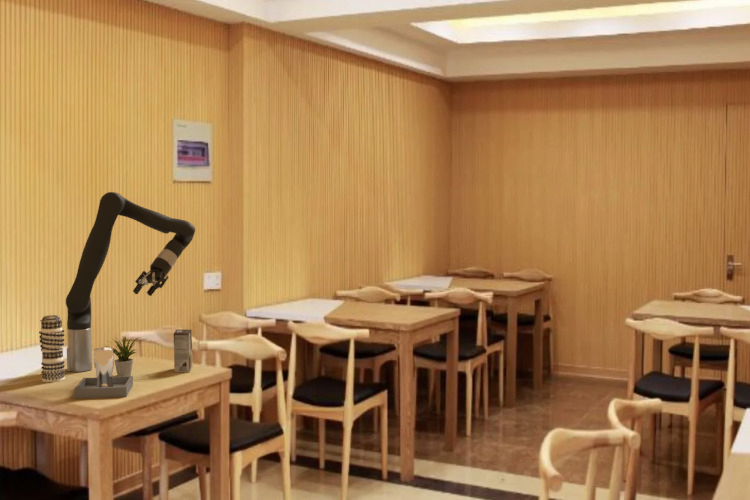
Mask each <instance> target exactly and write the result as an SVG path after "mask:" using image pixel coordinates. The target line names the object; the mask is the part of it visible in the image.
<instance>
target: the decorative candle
mask: <svg viewBox="0 0 750 500" xmlns="http://www.w3.org/2000/svg"><path fill="white" fill-rule="evenodd" d="M62 322H63V319H62V318H61V317H60V316H59V315H55V314H53V315H51V314H50V315H44V316H43V317H42V319H41V320H40V325H41V327H40V331H39V332H38V334H39V343H40V344H39V345H40V352H42V353H41V354H42V356H41V369H42V371H41V372H40V373H41V381H42V382H44V383H55V382H56V383H57V382H60V381H61V382H62V381H64V380H65V379H66V377H65V376H66V374H65V372H66V370H65V369H64V368H65V361H64V355H63V354H64V353H63V351H64V350H65V348H64V347H63V346H64V345H65V343H64V342H65V339H64V338H63V337H64V336H65V330H64V329H63V323H62Z"/></svg>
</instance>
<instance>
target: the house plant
mask: <svg viewBox="0 0 750 500" xmlns="http://www.w3.org/2000/svg"><path fill="white" fill-rule="evenodd" d="M133 338H135V337H132V339H133ZM140 338H141V336H139V337H137V338H135V339H133V340H132V341H131V338H130V339H128V340H127V335H125V336H122V342H121V340H119V339H118V338H117V337H115V339H113V338H111V341H113V342H114V343H115V344H116V346H115V344H113V343H112V342H111V344H113V345H114V346H115V347H116V348H117V349H116V348H114V347H112V348H113V353H114V355H115V356H116V357H117V358H118V359H117V358H116V359H114V367H115V369H116V370H115V371H116V374H117V376H116V377H120V376H132V369H133V363H134V359H133V358H130V357H131V355H133V354H134V355H135V354H137V352H135V351H136V349H132V347H134V345H135V344H136V343H137V342H138V339H140ZM130 341H131V342H130ZM107 342H109V343H110V341H108V340H107ZM126 342H127V343H126ZM130 343H131V344H130ZM104 347H110V346H108V345H104Z"/></svg>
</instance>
